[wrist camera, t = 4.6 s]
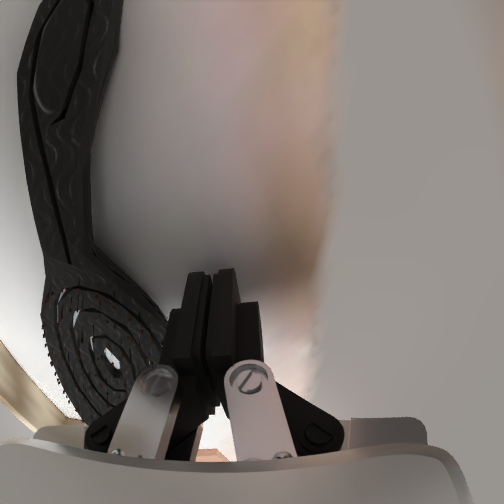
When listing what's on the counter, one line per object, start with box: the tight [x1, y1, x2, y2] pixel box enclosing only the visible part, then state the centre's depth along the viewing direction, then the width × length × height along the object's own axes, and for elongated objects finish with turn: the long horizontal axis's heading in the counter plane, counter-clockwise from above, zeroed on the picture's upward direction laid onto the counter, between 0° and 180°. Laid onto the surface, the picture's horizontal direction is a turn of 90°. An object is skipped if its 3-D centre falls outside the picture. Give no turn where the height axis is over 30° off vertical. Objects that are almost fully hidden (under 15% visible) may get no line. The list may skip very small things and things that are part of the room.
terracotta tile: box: [195, 449, 229, 462], centre depth 24 cm, size 7×7×1 cm
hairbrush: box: [17, 0, 168, 426], centre depth 11 cm, size 8×4×25 cm
